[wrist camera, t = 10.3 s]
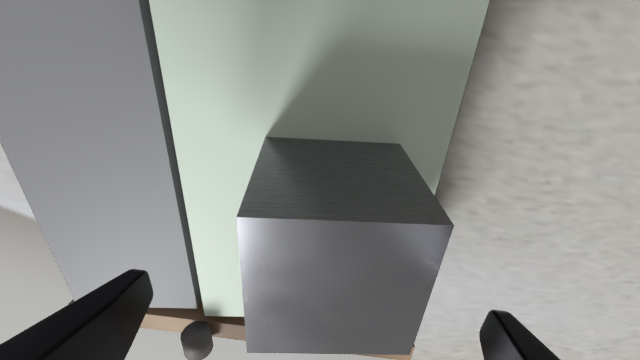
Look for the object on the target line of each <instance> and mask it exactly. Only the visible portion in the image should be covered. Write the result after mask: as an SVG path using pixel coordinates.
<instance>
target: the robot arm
mask: <svg viewBox="0 0 640 360" xmlns="http://www.w3.org/2000/svg"><path fill="white" fill-rule="evenodd" d="M152 299H153V288H152V284H151V281H150V277H149V274H148V272H147V271H146V270H139V269H130V270H128V271H126V272H124V273H122V274H121V275H119V276H117V277H115V278H114V279H112V280H110V281H109V282H107V283H105V284H103V285H102V286H100V287H98V288H97V289H95V290H93V291H91V292H90V293H88V294H86V295H85V296H83V297H81V298H79V299H78V300H76V301H74V302H72V303H71V304H69V305H67V306H66V307H64V308H62V309H61V310H59V311H57V312H55V313H54V314H52V315H50V316H48V317H47V318H45V319H43V320H42V321H40V322H38V323H36V324H35V325H33V326H31V327H30V328H28V329H26V330H24V331H23V332H21V333H19V334H18V335H16V336H14V337H12V338H11V339H9V340H7V341H6V342H4V343H2V344H0V360H124V359H125V357H126V355H127V353H128V351H129V349H130V347H131V345H132V343H133V340H134V338H135V336H136V334H137V332H138V330H139V328H140V325H141V323H142V321H143V319H144V317H145V315H146V312H147V310H148V308H149V306H150V304H151V302H152ZM480 342H481V347H482V352H483V356H484V360H560V359H559V358H558V357H557V356H556V355H555V354H554V353H553V352H551V351H550V350H549V349H548V348H547V347H546V346H545V345H544V344H543V343H542V342H541V341H540V340H538V339H537V338H536V337H535V336H534V335H533V334H532V333H531V332H530V331H529V330H528V329H527V328H526V327H524V326H523V325H522V324H521V323H520V322H519V321H518V320H517V319H516V318H515V317H514V316H513V315H511V314H510V313H509V312H506V311H499V310H491V311H490V312H489V313H488V315H487V317H486V319H485V321H484V323H483V325H482V327H481V329H480Z"/></svg>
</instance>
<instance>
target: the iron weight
mask: <svg viewBox="0 0 640 360" xmlns="http://www.w3.org/2000/svg"><path fill="white" fill-rule="evenodd" d="M236 220H237V232H238V245H239V257H240V269H241V282H242V294H243V307H244V319H245V332H246V344H247V352H248V353H313V354H314V353H315V354H316V353H317V354H378V355H410V353H411V350H412V348H413V345H414V342H415V339H416V336H417V333H418V330H419V327H420V324H421V321H422V318H423V315H424V312H425V309H426V306H427V303H428V300H429V297H430V294H431V292H432V289H433V286H434V283H435V280H436V277H437V274H438V271H439V268H440V265H441V262H442V259H443V256H444V253H445V250H446V247H447V244H448V241H449V239H450V236H451V233H452V230H453V227H454V225H453V223H452V222H451V220H450V219H449V217H448V216H447V214H446V213H445V211H444V210H443V208H442V207H441V205H440V204H439V202H438V200H437V199H436V197H435V196H434V194H433V193H432V191H431V190H430V188H429V187H428V185H427V184H426V182H425V181H424V179H423V178H422V176H421V175H420V173H419V172H418V170H417V169H416V167H415V166H414V164H413V163H412V161H411V160H410V158H409V157H408V155H407V154H406V152H405V151H404V149H403V148H402V146H401V145H400V144H396V143H377V142H357V141H338V140H319V139H300V138H280V137H265V139H264V142H263V145H262V148H261V150H260V153H259V156H258V159H257V161H256V164H255V167H254V170H253V172H252V175H251V178H250V181H249V183H248V186H247V189H246V192H245V194H244V197H243V200H242V203H241V205H240V208H239V211H238V214H237V217H236Z"/></svg>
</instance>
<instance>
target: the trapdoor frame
mask: <svg viewBox="0 0 640 360" xmlns="http://www.w3.org/2000/svg"><path fill="white" fill-rule="evenodd" d="M72 302H74V299H73V300H72V301H71V302H70V303H69V304H71V303H72ZM69 304H68V305H69ZM140 328H148V329H157V330H164V331H173V332H180V333H181V342H182V346H183V350H184V354H185V357H186V358H187V359H188V360H202V359H204V358H205V357H207V356H208V355H209V354H210V352H211V351H212V348H213V341H212V337H220V338H229V339H236V340H244V341H246V332H245V319H244V317H232V316H205V315H204V309H203V303H202V298H201V300H200V303H199V306H198V308H197V309H193V308H148V310H147V312H146V315H145V317H144V319H143V321H142V323H141V325H140ZM414 348H415V346H414V345H413V348H412V350H411V353H410V355H378V354H357V355H365V356H373V357H381V358H389V359H396V360H410V359H411V356H412V353H413V351H414Z"/></svg>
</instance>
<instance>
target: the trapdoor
mask: <svg viewBox="0 0 640 360" xmlns="http://www.w3.org/2000/svg"><path fill="white" fill-rule="evenodd" d="M489 2H490V0H0V143H1V145H2V147H3V149H4V152H5V154H6V156H7V158H8V160H9V162H10V164H11V167H12V169H13V171H14V173H15V175H16V177H17V179H18V182H19V184H20V186H21V188H22V190H23V192H24V194H25V197H26V199H27V201H28V203H29V205H30V207H31V209H32V212H33V214H34V216H35V218H36V220H37V222H38V224H39V227H40V229H41V231H42V233H43V235H44V237H45V239H46V241H47V244H48V246H49V248H50V250H51V252H52V254H53V257H54V259H55V261H56V263H57V265H58V267H59V269H60V272H61V274H62V276H63V278H64V280H65V282H66V284H67V287H68V289H69V291H70V293H71V295H72V297H73V299H74V301H76V300H78V299H79V298H81V297H83V296H85V295H86V294H88V293H90V292H91V291H93V290H95V289H97V288H98V287H100V286H102V285H103V284H105V283H107V282H109V281H110V280H112V279H114V278H115V277H117V276H119V275H121V274H122V273H124V272H126V271H128V270H130V269H139V270H146V271H147V272H148V274H149V277H150V281H151V284H152V288H153V299H152V302H151V304H150V306H149V308H193V309H197V308H198V306H199V303H200V300H201V298H202V303H203V309H204V315H205V316H232V317H244V307H243V294H242V282H241V269H240V257H239V245H238V232H237V220H236V217H237V214H238V211H239V208H240V205H241V203H242V200H243V197H244V194H245V192H246V189H247V186H248V183H249V181H250V178H251V175H252V172H253V170H254V167H255V164H256V161H257V159H258V156H259V153H260V150H261V148H262V145H263V142H264V139H265V137H280V138H300V139H319V140H338V141H357V142H377V143H396V144H400V145H401V146H402V148H403V149H404V151H405V152H406V154H407V155H408V157H409V158H410V160H411V161H412V163H413V164H414V166H415V167H416V169H417V170H418V172H419V173H420V175H421V176H422V178H423V179H424V181H425V182H426V184H427V185H428V187H429V188H430V190H431V191H432V193H433V194H434V196H435V193H436V189H437V186H438V182H439V179H440V175H441V172H442V168H443V164H444V161H445V157H446V154H447V150H448V147H449V143H450V140H451V136H452V133H453V129H454V126H455V122H456V118H457V115H458V111H459V108H460V104H461V101H462V97H463V94H464V90H465V87H466V83H467V80H468V76H469V72H470V69H471V65H472V62H473V58H474V55H475V51H476V48H477V44H478V41H479V37H480V34H481V30H482V26H483V23H484V19H485V16H486V12H487V9H488V5H489Z"/></svg>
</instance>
